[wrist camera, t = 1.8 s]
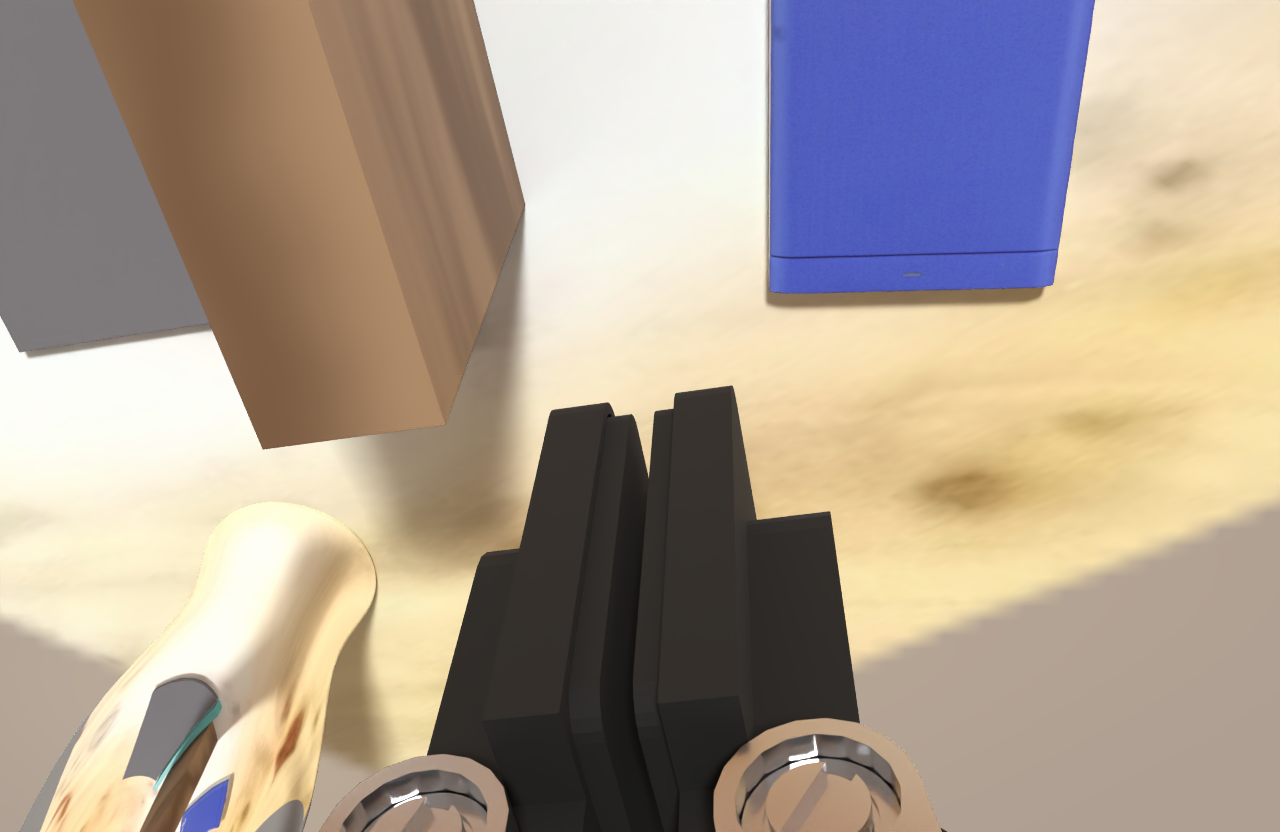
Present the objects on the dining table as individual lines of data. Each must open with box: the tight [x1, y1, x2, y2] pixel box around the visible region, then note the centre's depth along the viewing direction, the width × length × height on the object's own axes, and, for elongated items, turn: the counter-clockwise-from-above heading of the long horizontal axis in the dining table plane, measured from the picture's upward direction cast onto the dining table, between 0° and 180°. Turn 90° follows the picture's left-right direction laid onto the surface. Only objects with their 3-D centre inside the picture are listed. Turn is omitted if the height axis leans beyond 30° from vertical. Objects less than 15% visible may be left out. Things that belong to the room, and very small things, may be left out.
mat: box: [0, 0, 209, 352], centre depth 33 cm, size 11×14×1 cm
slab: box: [72, 0, 525, 449], centre depth 27 cm, size 4×10×12 cm, turn 11°
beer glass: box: [19, 501, 376, 832], centre depth 36 cm, size 7×7×15 cm
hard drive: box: [769, 0, 1095, 293], centre depth 32 cm, size 2×8×12 cm
